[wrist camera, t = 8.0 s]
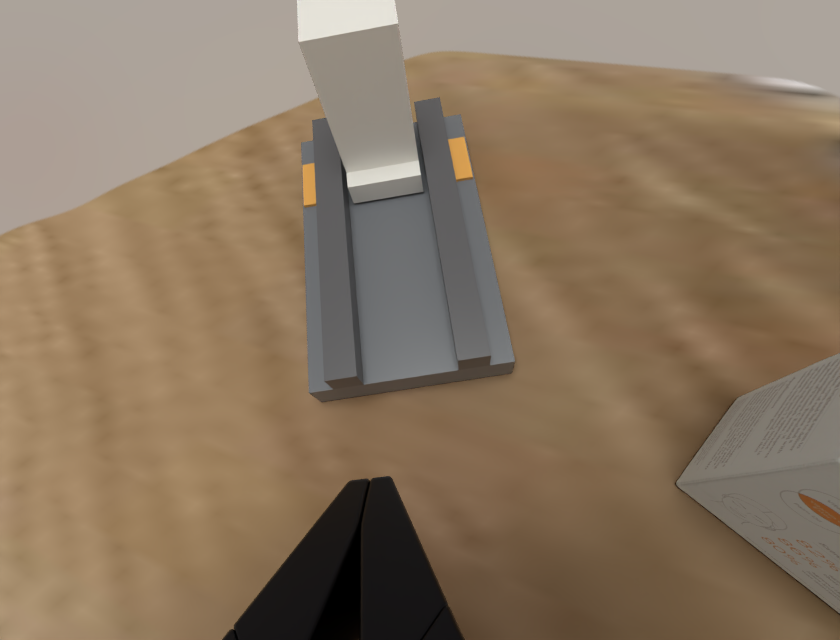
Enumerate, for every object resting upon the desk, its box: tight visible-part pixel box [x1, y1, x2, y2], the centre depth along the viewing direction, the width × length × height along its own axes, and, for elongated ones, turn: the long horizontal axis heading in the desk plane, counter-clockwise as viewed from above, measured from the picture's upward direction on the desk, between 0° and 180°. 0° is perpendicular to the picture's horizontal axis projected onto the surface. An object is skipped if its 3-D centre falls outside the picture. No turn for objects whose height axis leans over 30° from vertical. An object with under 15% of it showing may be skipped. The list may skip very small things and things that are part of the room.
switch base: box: [301, 97, 515, 402], centre depth 25 cm, size 16×10×4 cm, turn 7°
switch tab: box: [297, 0, 423, 203], centre depth 23 cm, size 5×4×9 cm
